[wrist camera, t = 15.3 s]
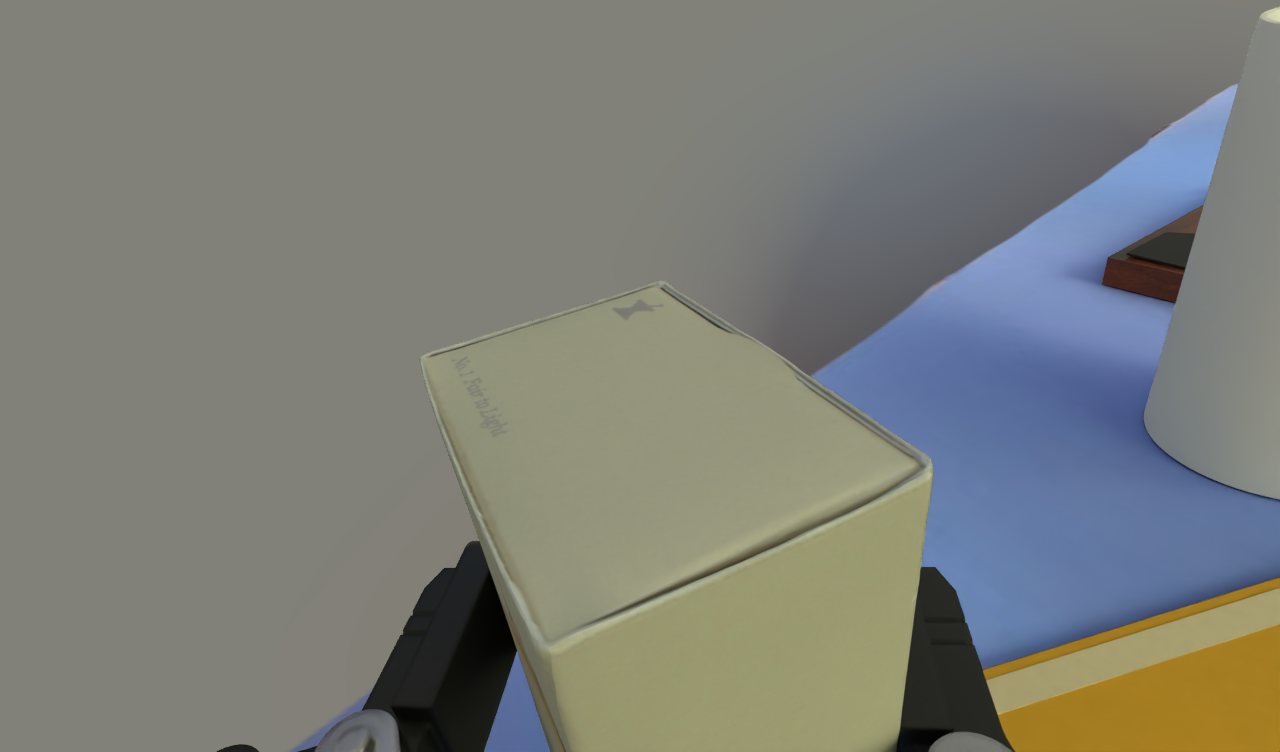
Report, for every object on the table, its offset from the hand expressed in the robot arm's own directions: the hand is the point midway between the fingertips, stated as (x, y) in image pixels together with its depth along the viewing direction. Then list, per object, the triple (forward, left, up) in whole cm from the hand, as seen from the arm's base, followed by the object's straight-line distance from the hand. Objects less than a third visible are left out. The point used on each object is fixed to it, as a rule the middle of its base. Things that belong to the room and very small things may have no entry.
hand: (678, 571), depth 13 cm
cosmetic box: (+1, +2, -7) cm, 7 cm away
